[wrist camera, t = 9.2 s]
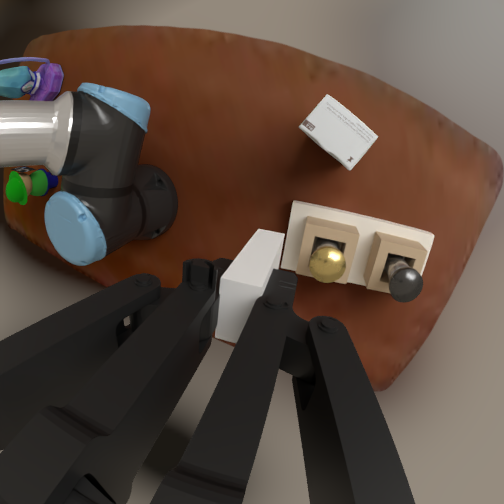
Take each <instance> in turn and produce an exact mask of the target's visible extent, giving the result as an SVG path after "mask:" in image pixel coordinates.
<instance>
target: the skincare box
mask: <svg viewBox="0 0 504 504" xmlns="http://www.w3.org/2000/svg"><path fill="white" fill-rule="evenodd" d="M299 128H300V129H301V130H302V131H303V132H305V133H306V134H307V135H308V136H309V137H310V138H311V139H312V140H313V141H314V142H315V143H316V144H317V145H319V146H320V147H321V148H322V149H324V150H325V151H326V152H327V153H329V154H330V155H331V156H333V157H334V158H335V159H336V160H338V161H339V162H340V163H341V164H342V165H343V166H344V167H346V168H347V169H348V170H351V169H352V168H353V167H354V166H355V165H356V164H357V162H358V161H359V160H360V159H361V158H362V156H363V155H364V154H365V153H366V152H367V150H368V149H369V148H370V147H371V145H372V144H373V143H374V142H375V140H376V139H377V138H378V136H377V135H376V134H375V133H374V132H373V131H372V130H370V129H369V128H368V127H367V126H366V125H365V124H364V123H363V122H362V121H361V120H359V119H358V118H357V117H356V116H355V115H354V114H352V113H351V112H350V111H349V110H348V109H346V108H345V107H344V106H343V105H341V104H340V103H339V102H338V101H336V100H335V99H334V98H332V97H331V96H329V95H328V94H327V95H326V96H325V97H324V98H323V100H322V101H321V102H320V103H319V104H318V105H317V106H316V107H315V109H314V110H313V111H312V112H311V113H310V114H309V115H308V117H307V118H306V119H305V120H304V121H303V122H302V124H301V125H300V126H299Z"/></svg>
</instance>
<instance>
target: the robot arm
mask: <svg viewBox="0 0 504 504" xmlns="http://www.w3.org/2000/svg"><path fill="white" fill-rule="evenodd" d="M77 91H78V92H70V91H66V92H65V93H63V94H62V95H61V96H59V97H58V98H57V99H56V100H54V101H27V100H11V101H0V167H12V166H28V165H44V166H46V167H47V169H48V170H49V171H50V172H51V173H52V174H53V175H56V176H59V175H62V183H61V191H60V192H57V193H55V194H54V195H53V196H51V197H50V200H49V201H48V202H47V204H46V207H45V225H46V229H47V233H48V235H49V238H50V240H51V242H52V243H53V245H54V247H55V249H56V250H57V251H58V253H59V254H60V255H61V256H62V257H63V258H64V259H66V260H67V261H68V262H70V263H72V264H75V265H79V266H84V265H88V264H90V263H92V262H95V261H98V260H101V259H102V258H104V257H105V256H107V255H108V254H110V253H112V252H113V251H115V250H117V249H118V248H120V247H122V246H123V245H125V244H127V243H128V242H130V241H132V240H149V239H153V238H156V237H158V236H159V235H161V234H163V233H164V232H166V231H167V230H168V229H169V228H170V227H171V225H172V224H173V222H174V220H175V217H176V214H177V208H178V200H177V194H176V190H175V187H174V185H173V183H172V181H171V179H170V178H169V177H168V176H167V174H166V173H165V172H163V171H162V170H161V169H159V168H157V167H155V166H153V165H148V164H142V165H138V162H139V158H140V153H141V149H142V145H143V141H144V137H145V134H146V133H147V124H148V120H149V116H150V106H149V104H148V103H147V102H146V101H145V100H144V99H142V98H140V97H137V96H135V95H132V94H129V93H126V92H123V91H120V90H117V89H113V88H109V87H104V86H100V85H97V84H92V83H82V84H81V85H80V87H79V88H78V90H77ZM284 236H285V234H282V233H277V232H273V231H268V230H263V229H258V230H257V231H256V232H255V234H254V235H253V236H252V238H251V239H250V240H249V242H248V243H247V244H246V245H245V247H244V248H243V249H242V251H241V252H240V253H239V255H238V256H237V257H236V258H235V260H229V259H225V258H219V259H217V260H214V261H213V262H212V261H209V260H206V259H190V260H186V261H184V262H183V278H182V283H181V284H180V285H179V286H178V287H177V288H163V287H161V282H160V280H159V278H157V277H156V276H154V275H150V274H145V273H143V274H137V275H134V276H131V277H129V278H127V279H125V280H123V281H120V282H118V283H116V284H114V285H112V286H110V287H108V288H106V289H104V290H102V291H99V292H97V293H95V294H93V295H91V296H89V297H87V298H85V299H83V300H81V301H79V302H77V303H75V304H73V305H71V306H69V307H67V308H64V309H63V310H60V311H58V312H56V313H54V314H52V315H50V316H48V317H46V318H44V319H42V320H40V321H39V322H37V323H35V324H33V325H31V326H29V327H27V328H25V329H23V330H21V331H19V332H17V333H15V334H13V335H11V336H9V337H7V338H6V339H4V340H2V341H0V450H3V449H4V450H3V451H2V452H1V453H0V504H126V503H127V501H128V499H129V497H130V494H131V489H132V482H133V479H134V477H135V476H136V474H137V472H138V470H139V469H140V467H141V465H142V464H143V462H144V460H145V458H146V457H147V455H148V453H149V452H150V450H151V448H152V446H153V445H154V443H155V441H156V439H157V438H158V436H159V434H160V432H161V431H162V429H163V427H164V426H165V424H166V422H167V421H168V419H169V417H170V415H171V414H172V412H173V410H174V408H175V407H176V405H177V403H178V401H179V399H180V398H181V396H182V394H183V393H184V391H185V389H186V387H187V386H188V384H189V382H190V380H191V379H192V377H193V375H194V373H195V372H196V370H197V368H198V366H199V364H200V363H201V361H202V359H203V357H204V356H205V354H206V352H207V350H208V349H209V347H210V345H211V340H212V333H213V332H214V330H215V328H216V333H215V338H219V339H222V340H226V341H230V342H234V343H236V345H235V348H234V350H233V352H232V354H231V356H230V358H229V361H228V363H227V365H226V367H225V369H224V371H223V373H222V375H221V378H220V380H219V382H218V384H217V386H216V388H215V390H214V393H213V395H212V397H211V399H210V401H209V403H208V405H207V407H206V409H205V412H204V414H203V416H202V418H201V420H200V422H199V424H198V426H197V428H196V430H195V432H194V434H193V436H192V438H191V440H190V442H189V444H188V446H187V448H186V450H185V452H184V454H183V457H182V458H181V460H180V462H179V464H178V466H177V467H176V468H174V469H171V470H170V471H169V472H168V473H167V474H166V475H165V477H164V479H163V481H162V482H161V484H160V486H159V488H158V489H157V491H156V493H155V495H154V497H153V499H152V501H151V503H150V504H242V502H243V498H244V495H245V490H246V486H247V483H248V480H249V476H250V473H251V470H252V466H253V463H254V460H255V456H256V453H257V449H258V446H259V442H260V439H261V435H262V431H263V428H264V424H265V421H266V417H267V413H268V409H269V405H270V402H271V398H272V394H273V390H274V386H275V382H276V377H277V374H278V370H279V369H281V370H283V371H285V372H287V373H289V374H291V375H293V377H292V383H293V389H294V396H295V402H296V408H297V415H298V422H299V428H300V435H301V442H302V448H303V456H304V462H305V470H306V476H307V484H308V491H309V499H310V504H415V502H414V498H413V495H412V492H411V489H410V486H409V484H408V480H407V477H406V475H405V472H404V469H403V466H402V463H401V460H400V458H399V455H398V452H397V450H396V447H395V444H394V441H393V439H392V436H391V434H390V431H389V428H388V426H387V423H386V421H385V418H384V415H383V413H382V410H381V408H380V406H379V403H378V401H377V398H376V396H375V393H374V391H373V388H372V386H371V384H370V381H369V379H368V376H367V374H366V372H365V369H364V367H363V365H362V363H361V360H360V358H359V356H358V353H357V351H356V349H355V347H354V344H353V342H352V340H351V338H350V335H349V333H348V331H347V329H346V327H345V326H344V324H343V323H341V322H340V321H338V320H337V319H335V318H332V317H327V316H317V317H314V318H312V319H311V320H310V321H309V322H308V321H306V320H304V319H302V318H300V317H299V316H297V315H296V314H295V313H294V311H293V309H292V305H293V300H294V295H295V290H296V285H297V280H298V278H297V277H296V275H295V273H292V272H287V271H283V270H278V268H279V263H280V257H281V252H282V247H283V241H284ZM127 316H129V317H130V324H129V325H128V326H124V321H123V319H124V318H125V317H127Z"/></svg>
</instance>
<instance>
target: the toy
mask: <svg viewBox="0 0 504 504" xmlns="http://www.w3.org/2000/svg"><path fill="white" fill-rule="evenodd" d="M11 170H15V171H18V172H26V171H31V170H36V169H33V168H29V167H25V166H23V167H19V168H14V169H11ZM15 171H12V172H11V173H10V176H9V182H8V184H7V186H6V195H7V197H8V199H9V200H10V201H12V202H19V203H20V204H21V205H25V204H26V203H27V196H28V195H29V194H31V195H34V196H44V195H46V194H47V193H48V190H49V188H53V187H56V186H57V185H58V178H57V176H56V175H51V173H50V172H46V171H45V170H44V169H38V170H37V171H35V172H33V173H32V174H31V175H27V174H26V173H17V172H15Z"/></svg>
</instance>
